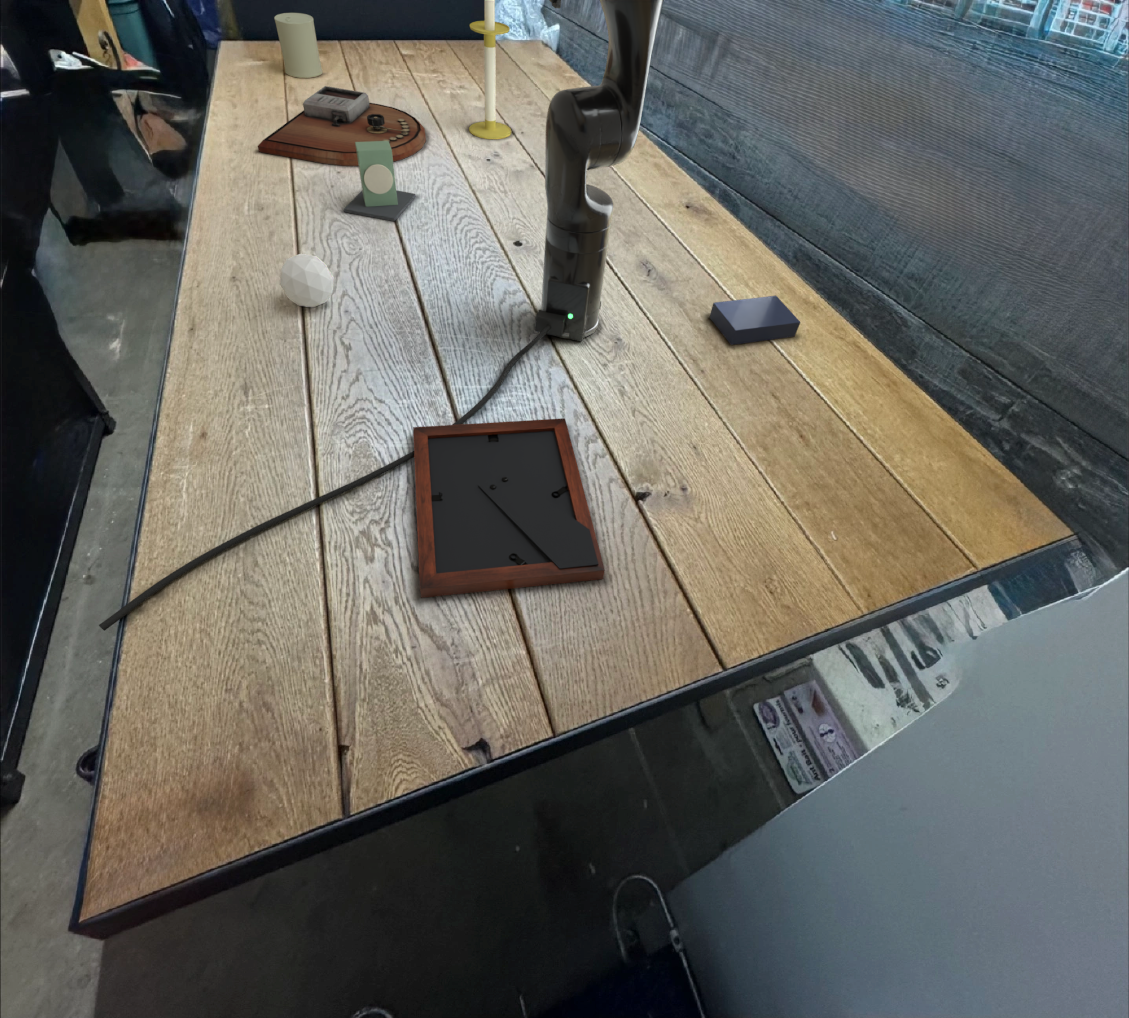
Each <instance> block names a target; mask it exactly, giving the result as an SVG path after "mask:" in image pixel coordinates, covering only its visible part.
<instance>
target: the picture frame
mask: <svg viewBox="0 0 1129 1018" xmlns="http://www.w3.org/2000/svg"><path fill="white" fill-rule="evenodd" d="M412 431H413V432H412V433H413V434H412V436H413V451H414V457H413V459H414V481H415V505H416V507H415V508H416V529H417V551H418V553H417V554H418V574H419V575H418V577H419V591H420V598H421V599H423V598H424V599H425V598H432V597H433V598H434V597H443V596H452V595H462V594H463V595H464V594H472V593H480V592H482V593H483V592H493V591H501V590H510V589H511V590H512V589H521V588H528V587H529V588H530V587H539V586H549V585H559V584H569V583H577V582H587V581H597V580H603V579H604V576H605V571H606V570H605V565H604V562H603V558H602V553H601V549H600V547H599V543H598V539H597V535H596V531H595V527H594V524H593V519H592V516H591V512H590V509H589V505H588V501H587V497H586V492H585V488H584V485H583V482H582V478H581V474H580V470H579V466H578V463H577V460H576V455H575V450H574V448H573V443H572V440H571V435H570V432H569V429H568V424H567V420H566V417H564V418H562V417H561V418H546V419H544V418H543V419H530V420H514V421H511V420H510V421H496V422H478V423H476V422H475V423H463V424H459V425H453V424H447V425H446V424H445V425H442V424H441V425H426V426H413V427H412Z"/></svg>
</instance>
